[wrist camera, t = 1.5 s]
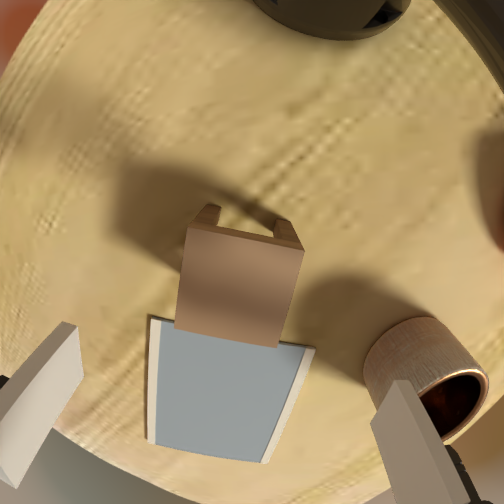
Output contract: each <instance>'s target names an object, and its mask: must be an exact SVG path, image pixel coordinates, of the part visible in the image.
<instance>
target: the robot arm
mask: <svg viewBox="0 0 504 504" xmlns="http://www.w3.org/2000/svg"><path fill="white" fill-rule="evenodd" d="M253 1H254V2H255V3H256V4H257V5H258V6H259V7H260V8H261V9H262V10H263V11H264V12H265V13H267V14H268V15H269V16H271V17H272V18H274V19H275V20H277V21H278V22H280V23H282V24H283V25H285V26H287V27H289V28H292V29H294V30H296V31H299V32H301V33H304V34H307V35H311V36H314V37H319V38H324V39H330V40H358V39H364V38H368V37H371V36H374V35H377V34H379V33H381V32H383V31H384V30H386V29H387V28H389V27H390V26H391V25H392V24H393V23H395V22H396V21H397V20H398V19H399V18H400V17H401V16H402V15H403V14H404V13H405V11H406V10H407V8H408V7H409V5H410V2H411V0H253ZM433 1H434V2H435V3H436V4H437V5H438V7H439V8H440V9H441V10H442V11H443V12H444V13H445V14H446V15H447V16H448V18H449V19H450V20H451V21H452V22H453V23H454V25H455V26H456V27H457V28H458V29H459V31H460V32H461V33H462V34H463V35H464V37H465V38H466V39H467V41H468V42H469V43H470V44H471V46H472V47H473V48H474V50H475V51H476V52H477V54H478V55H479V56H480V58H481V59H482V61H483V62H484V64H485V65H486V67H487V68H488V70H489V71H490V73H491V74H492V76H493V77H494V79H495V80H496V82H497V84H498V85H499V87H500V89H501V90H502V92H503V94H504V0H433ZM83 377H84V374H83V367H82V360H81V352H80V344H79V334H78V326H75V325H72V324H69V323H66V322H63V321H62V322H61V323H60V324H59V325H58V326H57V327H56V328H55V329H54V331H53V332H52V333H51V334H50V335H49V336H48V337H47V338H46V339H45V340H44V341H43V342H42V343H41V344H40V345H39V346H38V348H37V349H36V350H35V351H34V352H33V353H32V354H31V355H30V356H29V357H28V359H27V360H26V361H25V362H24V363H23V364H22V365H21V366H20V367H19V369H18V370H17V371H16V372H15V373H14V374H13V375H12V377H11V378H8V377H6V376H4V375H1V376H0V479H1V480H3V481H4V482H6V483H7V484H9V485H11V486H12V487H14V488H16V489H17V487H18V486H19V483H20V482H21V480H22V478H23V476H24V475H25V473H26V471H27V469H28V467H29V466H30V464H31V462H32V460H33V459H34V457H35V455H36V453H37V452H38V450H39V448H40V447H41V445H42V443H43V441H44V440H45V438H46V436H47V435H48V433H49V431H50V429H51V428H52V426H53V425H54V423H55V421H56V420H57V418H58V417H59V415H60V413H61V412H62V410H63V409H64V407H65V405H66V404H67V402H68V401H69V399H70V397H71V396H72V394H73V393H74V391H75V390H76V388H77V387H78V385H79V383H80V382H81V380H82V379H83ZM370 425H371V428H372V430H373V433H374V436H375V439H376V442H377V445H378V448H379V451H380V454H381V457H382V460H383V463H384V466H385V469H386V472H387V475H388V478H389V481H390V484H391V487H392V491H393V493H394V497H395V500H396V503H397V504H493V503H491V502H490V501H485V500H484V501H481V499H480V498H479V496H478V494H477V491H476V489H475V487H474V485H473V483H472V481H471V479H470V477H469V475H468V473H467V472H466V469H465V467H464V465H463V464H462V461H461V459H460V457H459V455H458V453H457V452H456V451H455V450H454V449H453V448H452V447H451V446H450V445H444V444H443V442H442V440H441V438H440V436H439V434H438V432H437V431H436V429H435V427H434V425H433V423H432V421H431V419H430V417H429V415H428V414H427V412H426V410H425V408H424V406H423V404H422V403H421V401H420V399H419V397H418V395H417V393H416V392H415V390H414V388H413V386H412V385H411V383H410V381H409V380H394V382H393V384H392V386H391V388H390V390H389V391H388V393H387V395H386V397H385V399H384V400H383V402H382V404H381V406H380V407H379V409H378V411H377V413H376V414H375V416H374V418H373V419H372V421H371V422H370Z"/></svg>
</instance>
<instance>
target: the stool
mask: <svg viewBox="0 0 504 504" xmlns="http://www.w3.org/2000/svg"><path fill="white" fill-rule="evenodd" d="M220 211H221V207H217V206H212V205H206V206H205V207H204V208H203V210H202V211H201V212H200V213H199V214H198V215H197V216H196V218H195V219H194V220H193V221H192V222H191V223H190V225H189V226H188V227H187V233H186V239H185V246H184V253H183V260H182V267H181V274H180V281H179V289H178V297H177V305H176V313H175V322H174V329H178V330H183V331H187V332H192V333H197V334H201V335H206V336H211V337H216V338H221V339H226V340H232V341H237V342H242V343H248V344H254V345H259V346H265V347H271V348H277V346H278V343H279V339H280V336H281V333H282V329H283V326H284V323H285V319H286V316H287V312H288V309H289V306H290V302H291V299H292V295H293V292H294V288H295V285H296V281H297V277H298V274H299V270H300V267H301V263H302V259H303V256H304V252H305V251H304V248H303V246H302V244H301V242H300V240H299V238H298V236H297V234H296V232H295V230H294V228H293V226H292V224H291V222H289V221H285V220H280V219H276V222H275V226H274V230H273V235H274V238H273V237H268V236H263V235H259V234H254V233H249V232H244V231H239V230H234V229H229V228H224V227H219V226H216V225H217V223H218V221H219V216H220Z"/></svg>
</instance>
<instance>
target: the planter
mask: <svg viewBox="0 0 504 504" xmlns="http://www.w3.org/2000/svg"><path fill="white" fill-rule="evenodd" d="M363 377H364V382H365V385H366V387H367V390H368V392H369V394H370V396H371V399H372V401H373V403H374V405H375V408H376V410H377V411H378V409H379V407H380V406H381V404H382V402H383V400H384V399H385V397H386V395H387V393H388V391H389V390H390V388H391V386H392V384H393V382H394V380H409V381H410V383H411V385H412V386H413V388H414V390H415V392H416V393H417V395H418V397H419V399H420V401H421V403H422V404H423V406H424V408H425V410H426V412H427V414H428V415H429V417H430V419H431V421H432V423H433V425H434V427H435V429H436V431H437V432H438V434H439V436H440V438H441V440H442V442H444V441H446V440H447V439H449V438H451V437H452V436H454V435H455V434H456V433H458V432H459V431H460V430H461V429H463V428H464V427H465V426H466V425H467V424H468V423H469V422H470V421H471V420H472V419H473V417H474V416H475V415H476V414H477V412H478V411H479V410H480V408H481V406H482V405H483V403H484V401H485V399H486V396H487V393H488V389H489V379H488V376H487V374H486V372H485V371H484V370H483V369H482V368H481V366H480V365H479V364H478V363H477V362H476V361H475V359H474V358H473V357H472V356H471V355H470V353H469V352H468V351H467V350H466V349H465V348H464V346H463V345H462V344H461V343H460V342H459V341H458V339H457V338H456V337H455V336H454V335H453V334H452V333H451V331H450V330H449V329H448V328H447V327H446V326H445V325H444V324H443V323H441V322H440V321H438V320H436V319H434V318H431V317H416V318H411V319H408V320H405V321H403V322H401V323H399V324H397V325H395V326H394V327H392V328H391V329H389V330H388V331H387V332H385V333H384V334H383V335H382V336H381V337H380V338H379V339H378V340H377V341H376V342H375V344H374V345H373V346H372V348H371V349H370V351H369V353H368V355H367V357H366V359H365V363H364V367H363Z"/></svg>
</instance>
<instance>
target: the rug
mask: <svg viewBox="0 0 504 504" xmlns="http://www.w3.org/2000/svg"><path fill="white" fill-rule="evenodd" d="M315 351H316V349H315V347H310V346H303V345H297V344H290V343H284V342H279V343H278V346H277V348H271V347H265V346H259V345H254V344H248V343H242V342H237V341H232V340H226V339H221V338H216V337H211V336H206V335H201V334H197V333H192V332H187V331H183V330H178V329H174V321H170V320H166V319H162V318H157V317H153V316H152V318H151V327H150V344H149V365H148V407H147V428H148V443H150V444H154V445H155V444H156V445H160V446H164V447H169V448H173V449H177V450H182V451H187V452H192V453H197V454H202V455H208V456H214V457H220V458H226V459H233V460H241V461H249V462H258V463H262V464H268V462H269V460H270V458H271V455H272V453H273V451H274V449H275V447H276V445H277V443H278V440H279V438H280V436H281V434H282V431H283V429H284V427H285V425H286V422H287V420H288V418H289V416H290V413H291V411H292V409H293V406H294V404H295V401H296V399H297V397H298V394H299V392H300V389H301V387H302V384H303V382H304V379H305V377H306V374H307V372H308V369H309V367H310V364H311V362H312V359H313V356H314V354H315Z"/></svg>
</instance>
